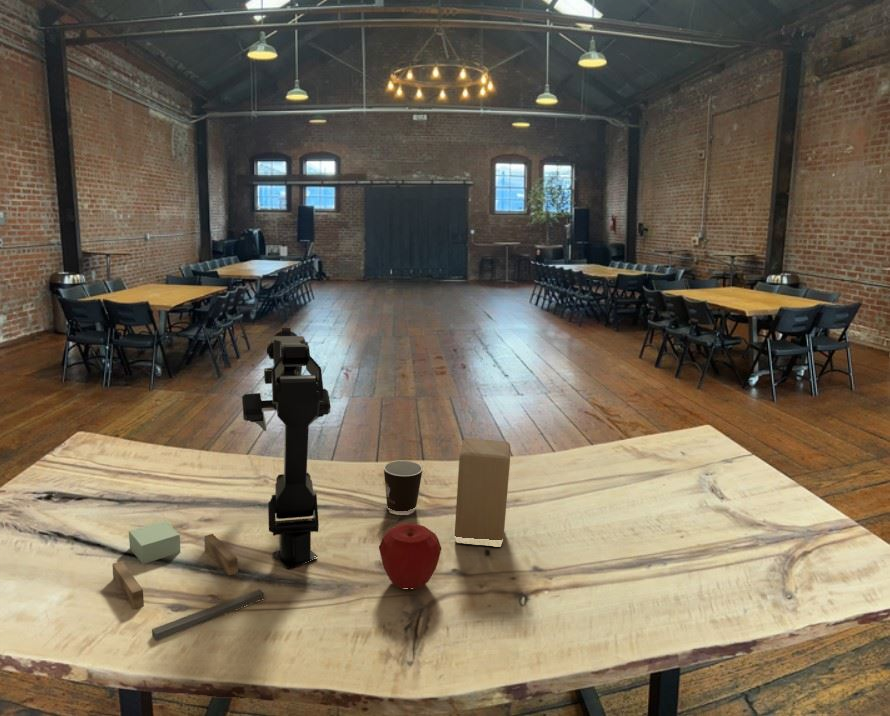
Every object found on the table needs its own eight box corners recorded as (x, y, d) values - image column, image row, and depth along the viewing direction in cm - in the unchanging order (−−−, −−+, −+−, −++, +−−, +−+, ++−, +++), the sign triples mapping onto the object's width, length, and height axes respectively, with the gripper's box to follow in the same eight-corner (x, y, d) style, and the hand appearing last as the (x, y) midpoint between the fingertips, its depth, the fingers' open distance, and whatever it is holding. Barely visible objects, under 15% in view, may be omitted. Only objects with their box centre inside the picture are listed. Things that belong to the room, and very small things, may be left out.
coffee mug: (419, 519, 147) (421, 477, 145) (380, 517, 147) (381, 474, 145) (422, 496, 159) (424, 456, 156) (385, 493, 159) (387, 454, 156)
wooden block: (503, 526, 146) (510, 440, 142) (502, 550, 137) (510, 458, 132) (457, 522, 147) (463, 435, 142) (453, 545, 138) (459, 453, 133)
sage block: (180, 553, 130) (179, 534, 129) (142, 565, 125) (141, 545, 124) (166, 538, 135) (165, 520, 134) (129, 549, 130) (128, 530, 129)
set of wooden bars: (264, 599, 117) (264, 583, 116) (155, 641, 105) (154, 624, 104) (213, 547, 132) (212, 533, 131) (113, 578, 120) (112, 563, 119)
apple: (449, 580, 125) (452, 523, 122) (417, 608, 116) (420, 547, 113) (400, 561, 131) (402, 506, 128) (366, 587, 122) (368, 528, 119)
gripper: (325, 353, 153) (321, 398, 164) (239, 357, 147) (241, 404, 158) (333, 389, 146) (328, 434, 156) (242, 396, 140) (244, 442, 151)
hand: (285, 427), depth 155 cm, fingers open, 9 cm apart
